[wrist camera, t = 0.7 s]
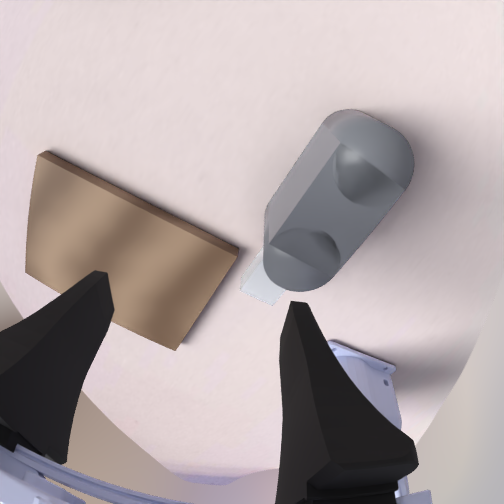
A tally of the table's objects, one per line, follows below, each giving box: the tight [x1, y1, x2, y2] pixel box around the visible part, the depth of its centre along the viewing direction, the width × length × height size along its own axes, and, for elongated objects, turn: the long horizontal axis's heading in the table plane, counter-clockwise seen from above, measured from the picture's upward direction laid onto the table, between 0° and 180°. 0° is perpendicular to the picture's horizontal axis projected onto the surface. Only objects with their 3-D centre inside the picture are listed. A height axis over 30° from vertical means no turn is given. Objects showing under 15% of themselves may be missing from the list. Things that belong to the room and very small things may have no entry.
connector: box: [240, 109, 414, 306], centre depth 17 cm, size 4×13×5 cm, turn 151°
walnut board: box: [25, 151, 239, 351], centre depth 22 cm, size 16×12×1 cm
